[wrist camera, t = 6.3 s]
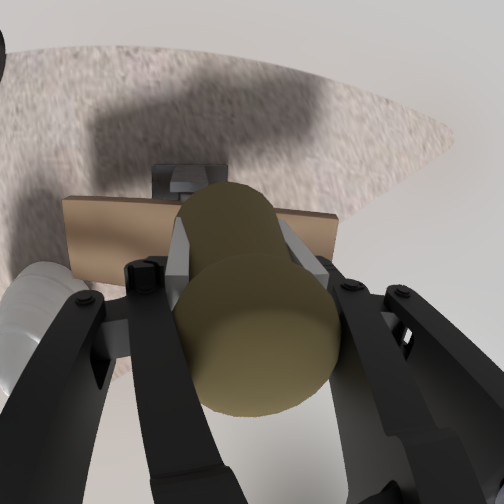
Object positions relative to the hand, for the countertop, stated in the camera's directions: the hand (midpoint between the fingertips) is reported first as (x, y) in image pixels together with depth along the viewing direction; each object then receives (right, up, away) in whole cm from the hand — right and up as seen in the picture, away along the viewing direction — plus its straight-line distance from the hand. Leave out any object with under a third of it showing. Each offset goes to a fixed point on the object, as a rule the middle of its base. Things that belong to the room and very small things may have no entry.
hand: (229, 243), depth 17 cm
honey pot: (-25, -7, +20) cm, 33 cm away
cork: (0, +1, +1) cm, 1 cm away
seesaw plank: (-4, 0, +11) cm, 12 cm away
